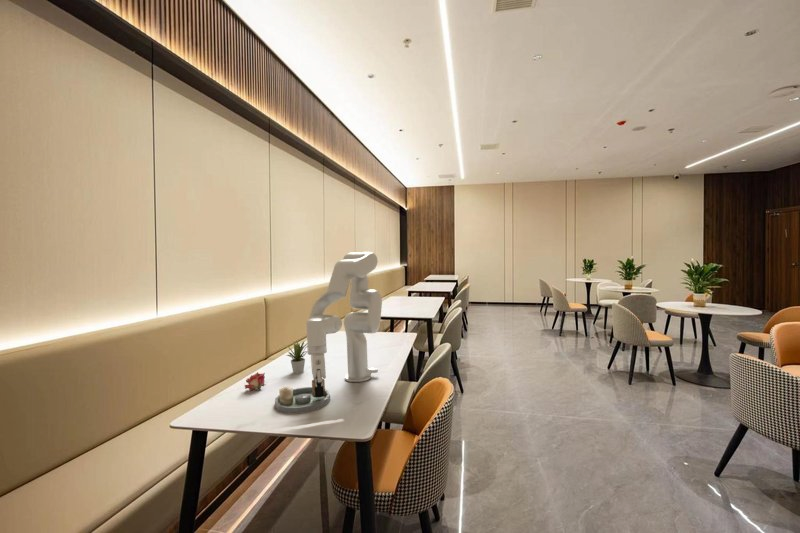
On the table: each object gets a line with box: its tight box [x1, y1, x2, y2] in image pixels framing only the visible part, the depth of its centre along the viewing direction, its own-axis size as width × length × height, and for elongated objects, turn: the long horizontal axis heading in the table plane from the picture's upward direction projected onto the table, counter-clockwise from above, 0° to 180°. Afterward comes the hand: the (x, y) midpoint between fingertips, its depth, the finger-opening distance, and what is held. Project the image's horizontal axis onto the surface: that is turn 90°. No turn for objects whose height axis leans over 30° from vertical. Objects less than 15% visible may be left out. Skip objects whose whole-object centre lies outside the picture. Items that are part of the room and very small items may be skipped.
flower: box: [244, 372, 267, 391], centre depth 159 cm, size 10×9×8 cm
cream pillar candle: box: [278, 386, 294, 406], centre depth 141 cm, size 5×5×6 cm
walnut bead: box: [311, 378, 326, 398], centre depth 144 cm, size 5×5×6 cm
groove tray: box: [274, 386, 331, 414], centre depth 143 cm, size 21×21×3 cm
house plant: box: [284, 340, 308, 374], centre depth 184 cm, size 14×14×16 cm
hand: (318, 393), depth 144 cm, fingers closed on walnut bead, 4 cm apart
